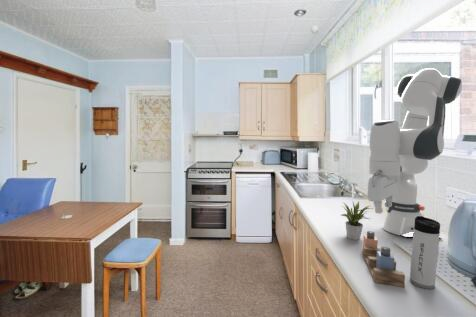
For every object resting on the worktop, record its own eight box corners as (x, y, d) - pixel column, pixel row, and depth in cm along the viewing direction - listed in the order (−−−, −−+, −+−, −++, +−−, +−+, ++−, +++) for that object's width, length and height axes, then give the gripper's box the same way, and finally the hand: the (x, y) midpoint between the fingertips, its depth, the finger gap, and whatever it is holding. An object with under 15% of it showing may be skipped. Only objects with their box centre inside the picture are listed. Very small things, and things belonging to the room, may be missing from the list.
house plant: (378, 247, 103) (380, 207, 101) (341, 243, 106) (344, 205, 104) (367, 233, 117) (370, 198, 115) (335, 231, 120) (337, 196, 118)
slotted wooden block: (386, 258, 94) (387, 248, 93) (404, 287, 76) (405, 276, 75) (362, 254, 96) (363, 245, 96) (374, 282, 78) (375, 271, 77)
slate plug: (389, 270, 83) (391, 246, 82) (393, 276, 79) (395, 252, 79) (375, 268, 84) (377, 245, 84) (378, 274, 80) (380, 250, 80)
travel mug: (423, 276, 81) (428, 215, 80) (440, 289, 75) (446, 223, 73) (404, 276, 81) (409, 215, 79) (419, 289, 75) (425, 223, 73)
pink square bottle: (374, 251, 99) (375, 231, 99) (376, 255, 96) (378, 235, 95) (362, 249, 100) (364, 230, 100) (364, 254, 97) (366, 233, 96)
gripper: (384, 173, 75) (383, 219, 76) (403, 166, 89) (402, 205, 90) (362, 171, 80) (361, 215, 81) (383, 165, 94) (383, 202, 95)
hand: (383, 209), depth 86 cm, fingers open, 8 cm apart
